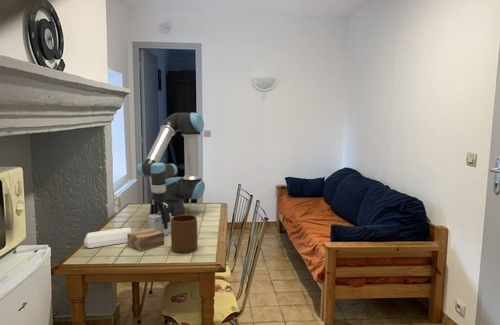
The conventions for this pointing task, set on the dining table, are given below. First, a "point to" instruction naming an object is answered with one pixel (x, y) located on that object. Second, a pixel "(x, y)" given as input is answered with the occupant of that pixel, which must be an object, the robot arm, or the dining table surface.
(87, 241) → the crystal
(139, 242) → the walnut block
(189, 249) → the mug
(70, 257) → the dining table surface
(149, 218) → the light bulb box
